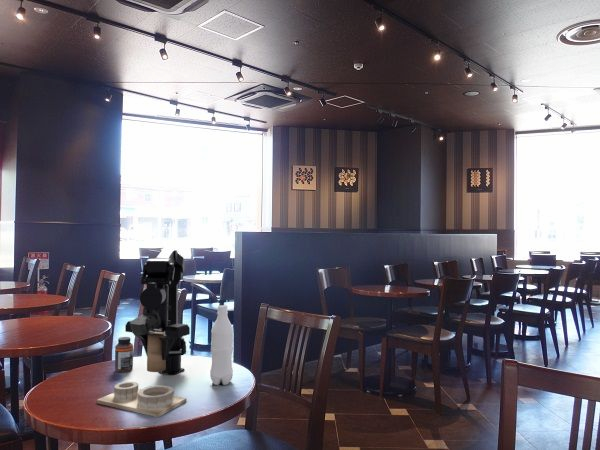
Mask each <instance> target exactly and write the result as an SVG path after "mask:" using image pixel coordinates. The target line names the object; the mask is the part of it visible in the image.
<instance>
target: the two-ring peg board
mask: <svg viewBox="0 0 600 450" xmlns="http://www.w3.org/2000/svg"><path fill="white" fill-rule="evenodd" d="M113 390H114V391H113V392H112V393H110V394H108V395H105V396H102V397H100V398H98V399H96V404H99V405H103V406H108V407H112V408H116V409H121V410H124V411H129V412H133V413H137V414H138V413H139V414H142V415H147V416H151V417H155V418H159V417H161V416H163V415H164V414H166V413H168V412H170V411H172V410H174V409H176V408H178V407H180V406H182V405H183V404H185V403H187V397H182V396H177V395H175V394H174V393H175V392H174V390H175V389H174V388H173V387H172V386H169V385H151V386H146V387H144V388H139V383H138V382H137V381H123V382H119V383H116V384H115V385H114V388H113Z"/></svg>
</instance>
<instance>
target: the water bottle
mask: <svg viewBox="0 0 600 450" xmlns="http://www.w3.org/2000/svg"><path fill="white" fill-rule="evenodd" d="M228 311H229V310H228V305H225V304H224V305H223V304H221V305H220V304H219V305H218V306H217V312H216V314H217V317H216V320H215V321H214V323H213V326H212V327H211V331H210V333H211V342H210V344H211V346H210V354H211V367H210V372H209V373H210V375H209V376H210V380H211V382H212V384H214V385H215V386H219V385H220V383H222V385H223V386H227V385H228V384H229V383H230V382H231V381H232V379H233V372H234V370H233V363H232V360H233V359H232V357H233V350H234V329H233V326H232V323H231V321H230V319H229V317H228V316H229V315H228V314H229V312H228Z"/></svg>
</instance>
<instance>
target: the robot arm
mask: <svg viewBox="0 0 600 450" xmlns="http://www.w3.org/2000/svg"><path fill="white" fill-rule="evenodd" d="M185 266H186V264H185V259H184V256H182V255H181V254H179V253H178V250H177V249H176V248H171V247H170V248H164V247H163V248H161V249H160V250H159V254H158V255H157V256H156V257H154V258H148V259H146V262H145V263H143V267H142V268H143V269H142V273H141V280H140V284H141V285H146V288H145V289H143V290H142V291H141V293H140V295H139V301H140V304H141V305H142V306H141V307H143V309H142V314H141V315H138V316H137V317H135V318H134V319H133V320H129V321H127V322H126V323H125V327H124V328H125V333H126V332H127V333H132V334H133V335H134V336H135V337H137V338H138V339H140V342H141V343H142V345H143V349H144V351H145V355H146V356H147V346H148V334H149V333H152V332H164V336H162V337H159V339H160V340H161V342H162V360H166V368H165V370H164V371H160V372H157V373H159V374H163V375H164V374H165V375H170V376H174V375H176V374H179V373H180V372H183V371H185V368H182V356H185V355H186V354H187V343H186V341H185V336H188V335H190V334H191V333H190V331H191V329H190V326H189V324H185V323H178V321H179V319H178V317H179V316H178V315H179V311H178V310H179V307H178V305H179V304H178V303H179V302H178V301H179V282H180V281H181V280H182V278H183V275H184V273H185V268H186V267H185Z"/></svg>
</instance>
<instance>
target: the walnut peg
mask: <svg viewBox="0 0 600 450" xmlns="http://www.w3.org/2000/svg"><path fill="white" fill-rule="evenodd" d="M162 336H164V332H157V331H155V332H152V333H149V334H148V346H147V355H146V359H147V361H146V371H147V372H150V373H158V372H160V371H164V370H165V368H166V360H162V342H161V340H160V339H159V337H162Z"/></svg>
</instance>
